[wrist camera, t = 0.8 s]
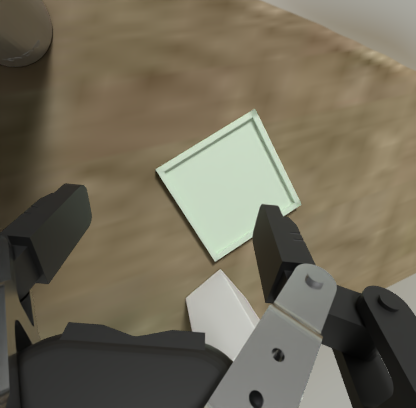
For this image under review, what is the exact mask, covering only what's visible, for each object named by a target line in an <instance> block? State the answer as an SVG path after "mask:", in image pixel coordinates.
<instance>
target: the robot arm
mask: <svg viewBox="0 0 416 408" xmlns="http://www.w3.org/2000/svg"><path fill="white" fill-rule="evenodd" d="M51 38H52V23H51V19H50V15H49V13H48V11H47V8H46V6H45V5H44V3H43V2H42V0H0V64H1V65H5V66H11V67H20V66H27V65H29V64H32V63H34V62H36V61H37V60H39V59H40V58H41V57H42V56H43V55H44V54H45V53H46V51H47V50H48V48H49V45H50V43H51ZM91 218H92V214H91V208H90V203H89V198H88V193H87V189H86V187H85V186H84V185H77V184H67V183H66V184H64V185H62V186H61V187H60V188H59V189H58V190H57V191H56V192H55V193H51V194H49V195H47V196H45V197H43V198H40V199H39V200H38V201H37V202H35V203H34V204H33V205H32V206H31V208H28V209H27V210H26V211H25V212H24V214H21V215H20V216H19V217H18V218H17V219H16V220H14V221H13V222H12V223H11V224H10V225H9V226H7V227H6V228H5V229H4V230H3V231H2V232H0V408H298V407H299V404H300V401H301V399H302V396H303V393H304V390H305V387H306V384H307V382H308V379H309V376H310V373H311V370H312V368H313V365H314V362H315V359H316V356H317V354H318V351H319V348H320V345H321V344H323V345H326V346H328V347H331V348H332V350H333V352H334V355H335V358H336V361H337V364H338V367H339V370H340V372H341V375H342V378H343V381H344V384H345V387H346V390H347V393H348V396H349V399H350V401H351V404H352V407H353V408H416V316H415V315H414V313H413V312H412V310H411V309H410V308H409V307H408V305H407V304H406V303H405V302H404V301H403V300H402V299H401V298H400V297H399V296H397V295H396V294H394V293H393V292H391V291H389V290H387V289H385V288H382V287H379V286H368V287H366V288H365V289H364V291H363V292H362V293H358V292H355V291H352V290H349V289H346V288H344V287H341V286H338V285H336V282H335V280H334V279H333V277H332V276H331V275H330V274H329V273H328V272H327V271H325V270H324V269H322V268H320V267H318V266H316V265H315V263H314V261H313V259H312V257H311V254H310V252H309V250H308V248H307V246H306V244H305V242H304V241H303V238H302V236H301V235H300V232H299V229H298V227H297V225H296V224H295V223H294V222H293V221H292V220H291V219H290V218H289V217H283V215H282V213H281V210H280V208H279V206H277V205H267V204H261V206H260V208H259V212H258V215H257V219H256V223H255V226H254V230H253V246H254V250H255V255H256V260H257V265H258V269H259V274H260V279H261V284H262V289H263V293H264V298H265V303H271V304H270V306H269V307H268V309H267V310H266V312H265V313H264V315H263V316H262V318H261V320H260V321H259V323H258V324H257V326H256V327H255V329H254V330H253V332H252V334H251V335H250V337H249V338H248V340H247V341H246V343H245V345H244V346H243V348H242V349H241V351H240V352H239V354H238V355H237V357H236V359H235V360H234V362H233V361H232V360H231V359H230V358H229V357H228V356H227V355H226V354H224V353H223V352H222V351H220V350H219V349H217V348H215V347H213V346H211V345H209V344H206V343H205V333H204V332H191V331H177V330H170V331H165V332H159V333H154V334H149V335H143V336H131V335H129V334H126V333H123V332H121V331H118V330H115V329H113V328H110V327H107V326H105V325H98V324H85V323H72V322H68V324H67V326H66V328H65V330H64V332H63V334H59V335H55V336H52V337H49V338H46V339H44V340H40V336H39V332H38V326H37V319H36V313H35V306H34V299H33V293H32V291H31V288H32V286H33V285H34V284H35V283H42V284H49V283H50V281H51V280H52V279H53V277H54V276H55V274H56V273H57V271H58V270H59V269H60V267H61V266H62V264H63V263H64V261H65V260H66V259H67V257H68V256H69V254H70V253H71V252H72V250H73V249H74V247H75V246H76V244H77V243H78V242H79V240H80V239H81V237H82V236H83V234H84V233H85V232H86V230H87V229H88V227H89V226H90V223H91ZM381 358H382V359H381ZM382 360H383V361H382ZM383 362H384V363H383ZM384 364H385V365H384ZM385 366H386V367H385ZM386 368H387V369H386ZM387 370H388V371H387ZM388 372H389V373H388ZM389 374H390V375H389ZM390 376H391V377H390ZM391 378H392V379H391Z"/></svg>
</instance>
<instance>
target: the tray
mask: <svg viewBox="0 0 416 408" xmlns="http://www.w3.org/2000/svg"><path fill="white" fill-rule="evenodd" d="M155 170H156V171H157V173H158V174H159V176H160V177H161V179H162V180H163V182H164V184H165V185H166V187H167V188H168V190H169V191H170V193H171V194H172V196H173V197H174V199H175V201H176V202H177V204H178V205H179V207H180V208H181V210H182V211H183V213H184V214H185V216H186V217H187V219H188V221H189V222H190V224H191V225H192V227H193V228H194V230H195V231H196V233H197V234H198V236H199V238H200V239H201V241H202V242H203V244H204V245H205V247H206V248H207V250H208V251H209V253H210V255H211V256H212V258H213V259H214V261H215V262H216V261H217V260H219V259H220V258H222V257H223V256H225V255H226V254H228V253H229V252H231V251H232V250H234V249H235V248H237V247H238V246H240V245H241V244H243V243H244V242H246V241H247V240H249V239H250V238H252V237H253V230H254V226H255V223H256V219H257V215H258V212H259V208H260V206H261V204H267V205H277V206H279V208H280V210H281V213H282V215H283V216H285V215H286V214H288V213H289V212H291V211H292V210H294V209H295V208H297V207H298V206H300V205H301V202H300V200H299V198H298V196H297V194H296V192H295V190H294V188H293V186H292V184H291V182H290V180H289V178H288V176H287V174H286V172H285V170H284V167H283V165H282V163H281V161H280V159H279V157H278V155H277V153H276V151H275V149H274V147H273V145H272V143H271V141H270V139H269V137H268V135H267V132H266V130H265V128H264V126H263V124H262V122H261V120H260V118H259V116H258V114H257V112H256V110H255V109H254V110H252V111H250V112H249V113H247V114H245V115H244V116H242V117H240V118H239V119H237V120H235V121H234V122H232V123H231V124H229V125H227V126H226V127H224V128H222V129H221V130H219V131H217V132H216V133H214V134H213V135H211V136H209V137H208V138H206V139H204V140H203V141H201V142H199V143H198V144H196V145H194V146H193V147H191V148H190V149H188V150H186V151H185V152H183V153H181V154H180V155H178V156H176V157H175V158H173V159H172V160H170V161H168V162H167V163H165V164H163V165H162V166H160V167H158V168H157V169H155Z"/></svg>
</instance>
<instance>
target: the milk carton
mask: <svg viewBox="0 0 416 408" xmlns="http://www.w3.org/2000/svg"><path fill="white" fill-rule="evenodd" d="M186 303H187V308H188V313H189V318H190V323H191V328H192V332H204V333H205V343H206V344H209V345H211V346H213V347H215V348H217V349H219V350H220V351H222V352H223V353H224V354H226V355H227V356H228V357H229V358H230V359H231V360H232V361H233V362H234V360H235V359H236V357H237V355H238V354H239V352H240V351H241V349H242V348H243V346H244V345H245V343H246V341H247V340H248V338H249V337H250V335H251V334H252V332H253V330H254V329H255V327H256V326H257V324H258V323H259V321H260V319H259V318H258V316H257V315H256V313H255V312H254V310H253V308H252V307H251V305H250V304H249V302H248V301H247V299H246V298H245V297H244V295H243V294H242V293H241V292H240V291H239V290H238V289H237V287H236V286H235V285H234V284H233V283H232V282H231V280H230V279H229V278H228V277H227V276H226V275H225V274H224V272H223V271H222V270H221V269H220V270H218V271H217V272H216V273H215V274H214V275H212V276H211V277H210V278H209V279H208V280H206V281H205V282H204V283H203V284H202V285H201V286H199V287H198V288H197V289H196V290H195V291H193V292H192V293H191V294H190V295H189V296H188V297H187V298H186ZM302 398H303V396H302ZM301 400H302V399H301Z"/></svg>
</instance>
